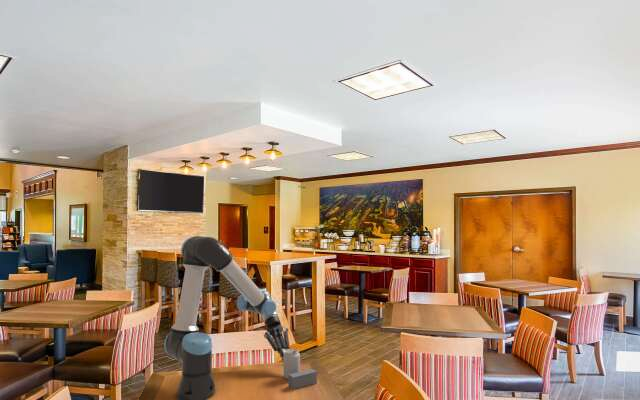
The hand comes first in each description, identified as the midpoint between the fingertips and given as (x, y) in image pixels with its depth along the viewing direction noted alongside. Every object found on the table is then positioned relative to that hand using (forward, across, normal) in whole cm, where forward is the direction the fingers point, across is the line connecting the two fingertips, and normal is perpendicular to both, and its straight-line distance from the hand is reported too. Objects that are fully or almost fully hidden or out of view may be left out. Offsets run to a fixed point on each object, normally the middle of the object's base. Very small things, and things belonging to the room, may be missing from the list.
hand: (287, 362), depth 185 cm
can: (+7, +1, 0) cm, 7 cm away
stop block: (+14, +1, +7) cm, 15 cm away
